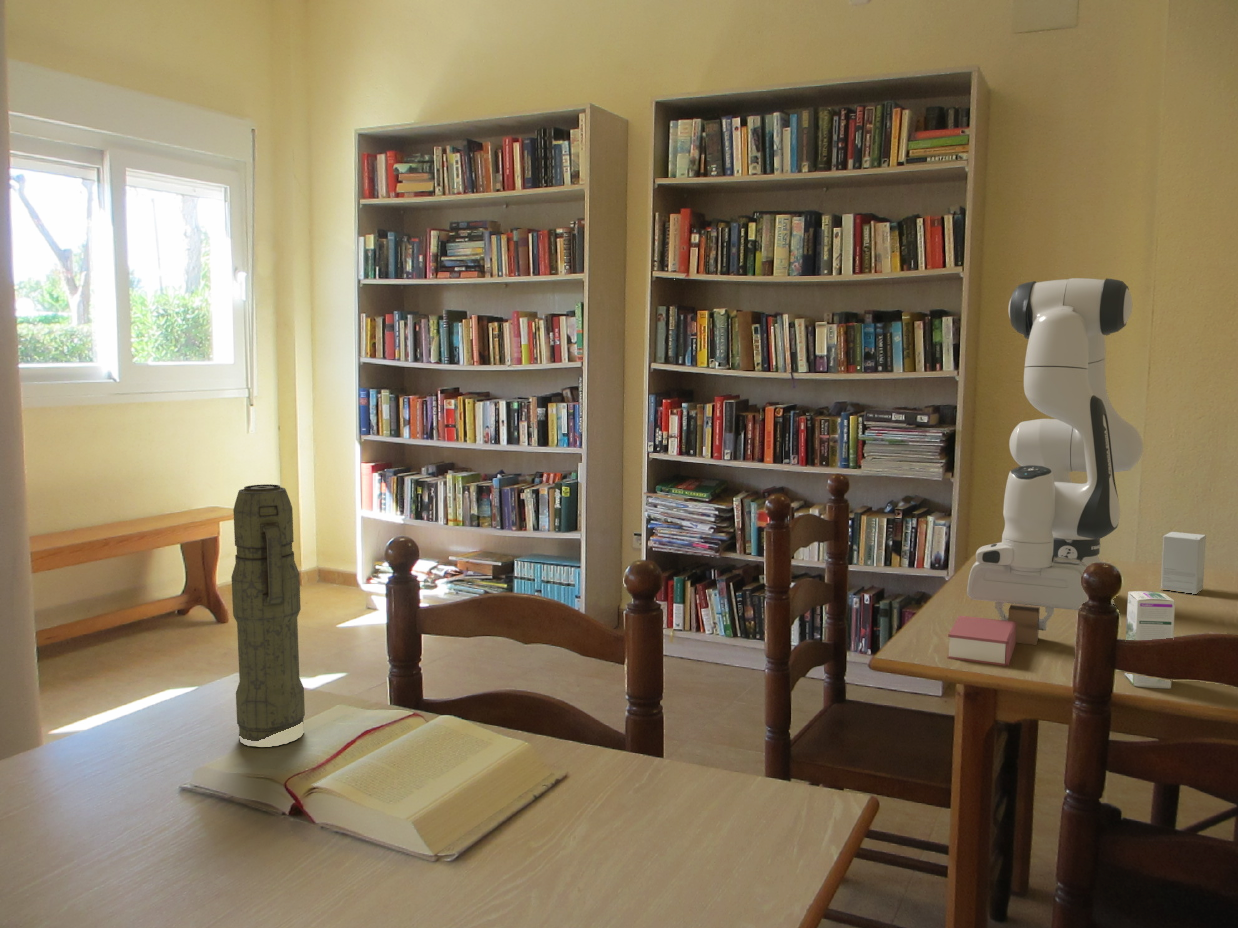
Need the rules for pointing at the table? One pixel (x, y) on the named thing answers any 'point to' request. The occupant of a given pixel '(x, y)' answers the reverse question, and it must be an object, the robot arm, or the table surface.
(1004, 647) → the book
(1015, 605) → the walnut block
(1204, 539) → the supplement box
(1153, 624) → the syrup box
